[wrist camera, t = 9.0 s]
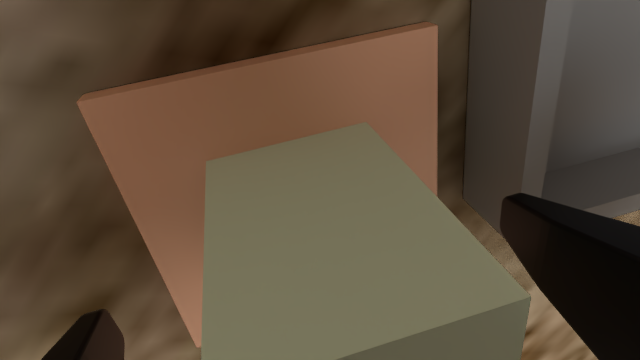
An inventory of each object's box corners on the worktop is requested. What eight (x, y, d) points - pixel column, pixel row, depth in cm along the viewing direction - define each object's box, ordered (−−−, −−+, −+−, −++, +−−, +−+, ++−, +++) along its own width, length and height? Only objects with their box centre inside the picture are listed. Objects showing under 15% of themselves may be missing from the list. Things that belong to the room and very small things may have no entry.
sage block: (366, 122, 10) (530, 296, 5) (378, 243, 12) (503, 457, 7) (206, 161, 9) (200, 402, 4) (247, 281, 11) (278, 541, 6)
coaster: (425, 21, 10) (437, 25, 9) (428, 264, 14) (437, 276, 13) (84, 93, 9) (76, 102, 8) (197, 332, 13) (196, 347, 12)
